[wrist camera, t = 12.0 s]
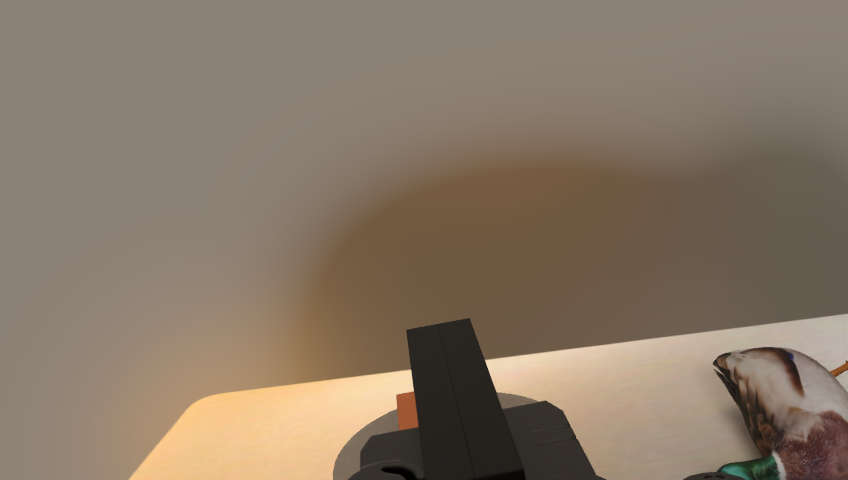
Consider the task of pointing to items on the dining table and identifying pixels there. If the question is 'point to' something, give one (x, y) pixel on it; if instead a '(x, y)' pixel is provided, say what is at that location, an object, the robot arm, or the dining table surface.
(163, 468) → the dining table surface
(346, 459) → the travel mug
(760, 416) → the decorative duck model
